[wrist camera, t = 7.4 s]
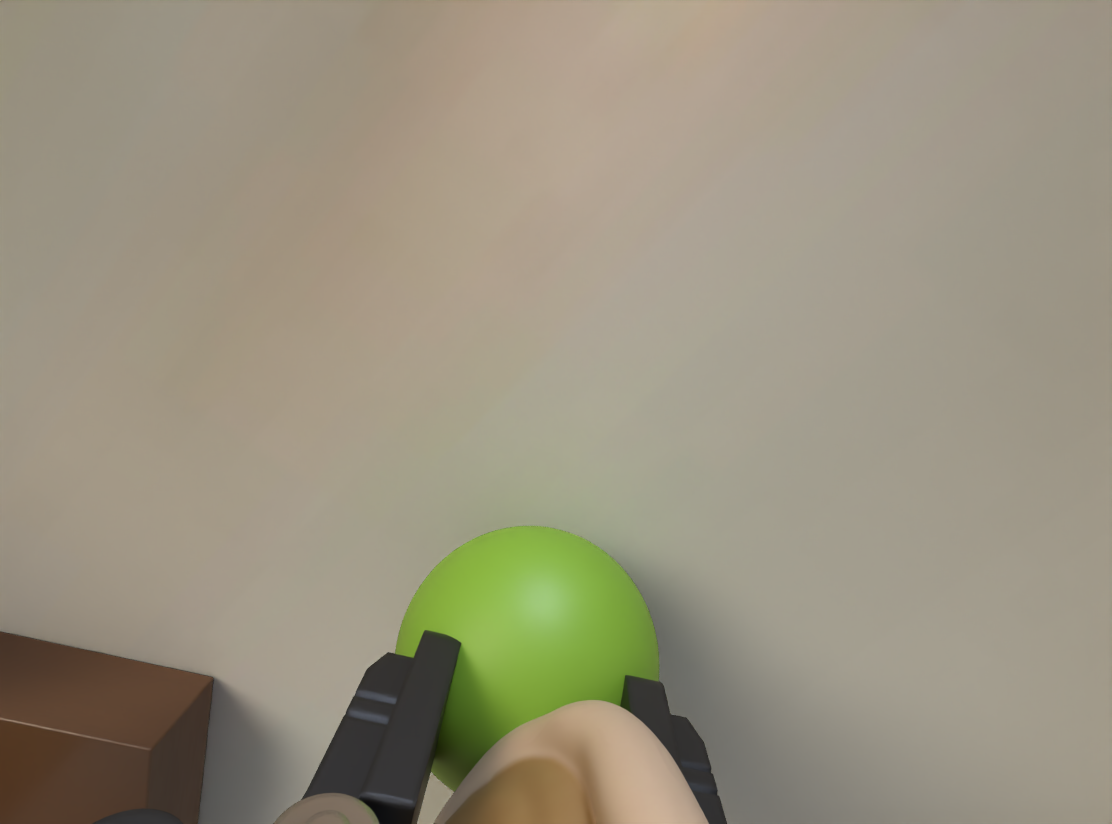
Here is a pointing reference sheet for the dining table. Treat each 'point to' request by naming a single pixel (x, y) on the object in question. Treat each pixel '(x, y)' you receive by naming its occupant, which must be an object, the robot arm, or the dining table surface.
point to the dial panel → (97, 735)
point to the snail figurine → (545, 686)
